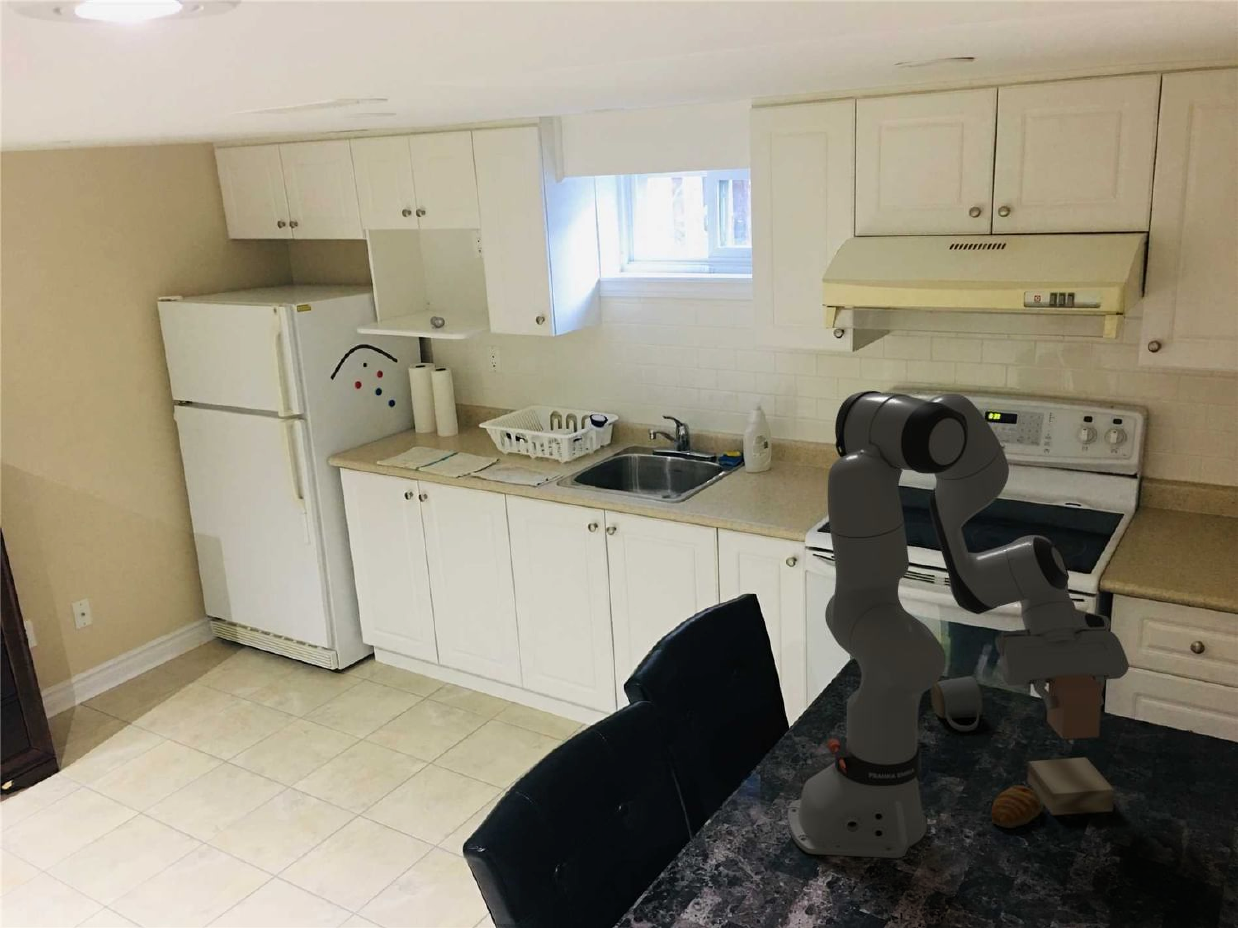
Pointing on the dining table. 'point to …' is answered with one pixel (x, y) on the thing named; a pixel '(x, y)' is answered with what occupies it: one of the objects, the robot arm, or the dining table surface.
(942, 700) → the ceramic mug
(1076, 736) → the reddish brown block
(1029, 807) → the pastry
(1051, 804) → the oak base block
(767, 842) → the dining table surface
